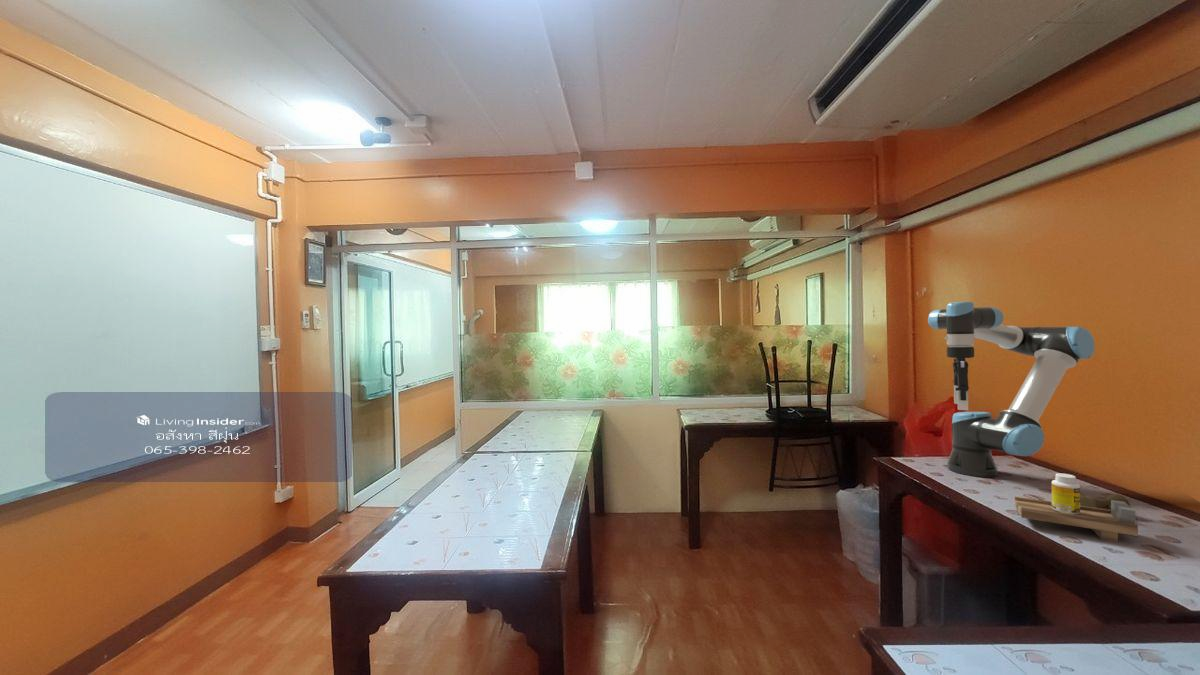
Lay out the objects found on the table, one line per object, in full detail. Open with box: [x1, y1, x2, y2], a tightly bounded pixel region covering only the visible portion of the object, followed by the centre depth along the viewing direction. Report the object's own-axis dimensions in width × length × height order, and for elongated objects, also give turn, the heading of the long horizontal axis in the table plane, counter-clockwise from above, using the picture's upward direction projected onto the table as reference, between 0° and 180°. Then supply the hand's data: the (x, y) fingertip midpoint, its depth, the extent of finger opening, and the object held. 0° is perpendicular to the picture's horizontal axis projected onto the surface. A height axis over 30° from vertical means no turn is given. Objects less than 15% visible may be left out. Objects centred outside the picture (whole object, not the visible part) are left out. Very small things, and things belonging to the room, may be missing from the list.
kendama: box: [1080, 490, 1131, 510], centre depth 138 cm, size 6×10×20 cm
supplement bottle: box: [1051, 472, 1081, 515], centre depth 126 cm, size 6×6×10 cm
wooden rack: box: [1014, 496, 1139, 543], centre depth 125 cm, size 10×22×8 cm, turn 56°
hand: (960, 406), depth 157 cm, fingers open, 13 cm apart
